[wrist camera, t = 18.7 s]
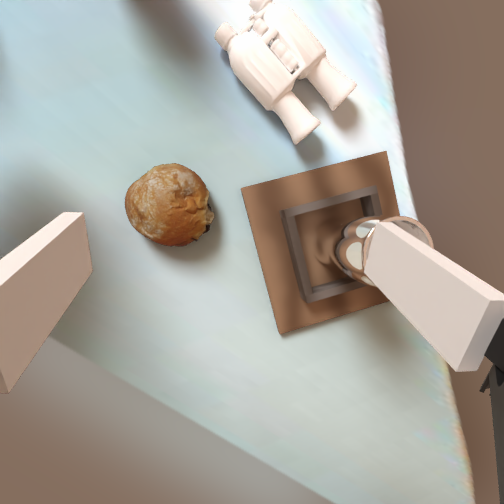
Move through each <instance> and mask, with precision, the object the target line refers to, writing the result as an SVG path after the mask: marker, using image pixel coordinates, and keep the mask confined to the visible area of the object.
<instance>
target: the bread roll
mask: <svg viewBox="0 0 504 504" xmlns="http://www.w3.org/2000/svg"><path fill="white" fill-rule="evenodd" d="M208 199H209V191H208V189H207V188H206V185H205V184H204V182H203V181H202V179H201V178H200V177H199V176H198V175H197V174H196V173H195V172H194V171H192V170H190V169H189V168H187V167H185V166H182V165H180V164H176V163H172V164H165V165H164V164H162V165H159V166H155V167H153V168H152V169H151V170H150V171H148V172H147V173H146V174H144V175H143V176H142V177H141V178H140V179H139V180H137V181H135V182H134V183H133V184H132V185H131V186H130V187H129V189H128V191H127V193H126V197H125V209H126V214H127V216H128V218H129V221H130V223H131V225H132V226H133V227H134V228H135V229H136V230H137V231H138V232H139V233H141V234H142V235H144V236H145V237H147V238H149V239H150V240H152V241H154V242H156V243H159V244H162V245H167V246H185V245H187V244H189V243H191V242H192V241H194V240H195V241H197V240H198V239H199V237H200V236H201V235H202V234H204V233H206V232H208V231H209V229H210V228H209V227H210V225H209V224H211V223H212V221H213V219H214V213H213V212H211V207H210V206H209V204H208Z"/></svg>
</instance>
